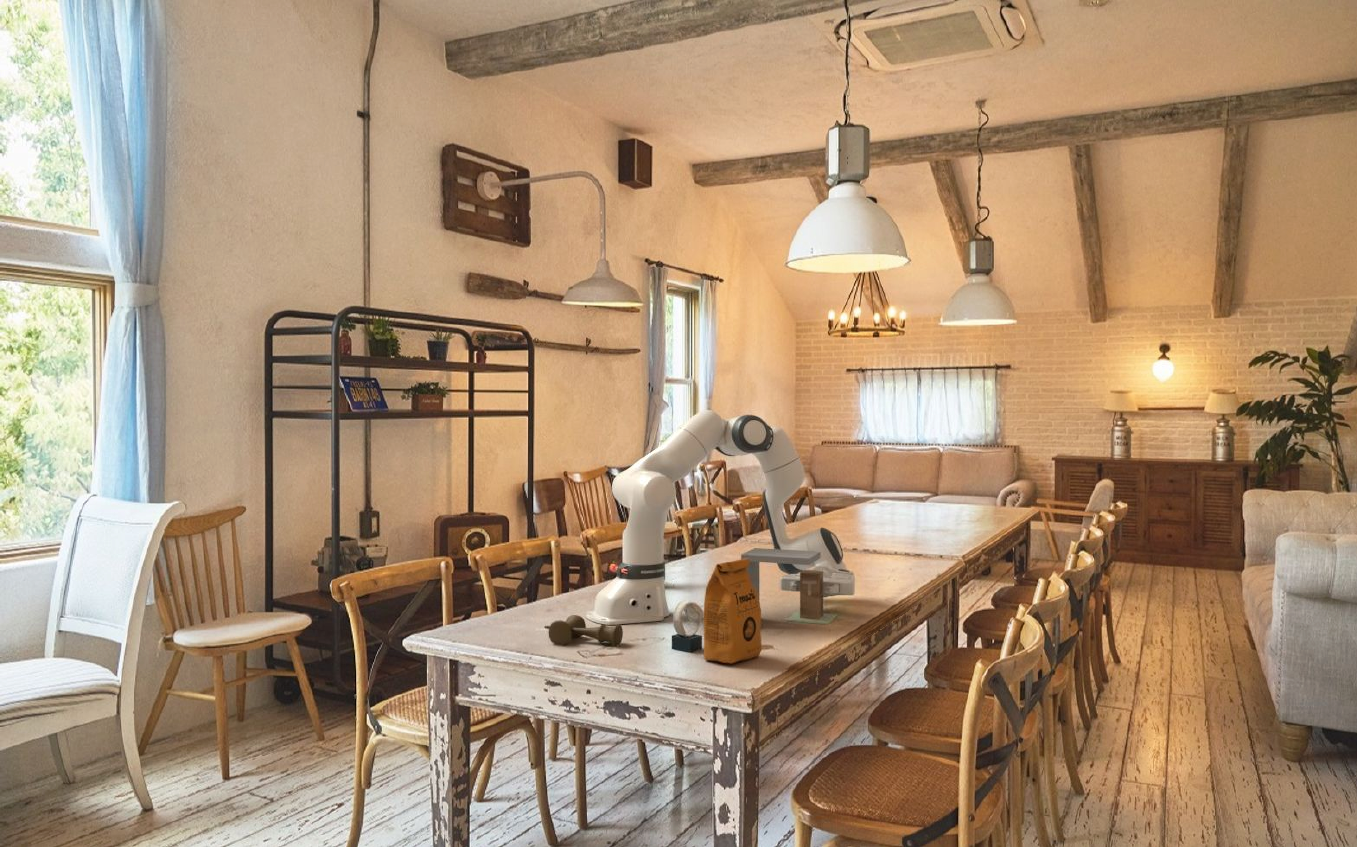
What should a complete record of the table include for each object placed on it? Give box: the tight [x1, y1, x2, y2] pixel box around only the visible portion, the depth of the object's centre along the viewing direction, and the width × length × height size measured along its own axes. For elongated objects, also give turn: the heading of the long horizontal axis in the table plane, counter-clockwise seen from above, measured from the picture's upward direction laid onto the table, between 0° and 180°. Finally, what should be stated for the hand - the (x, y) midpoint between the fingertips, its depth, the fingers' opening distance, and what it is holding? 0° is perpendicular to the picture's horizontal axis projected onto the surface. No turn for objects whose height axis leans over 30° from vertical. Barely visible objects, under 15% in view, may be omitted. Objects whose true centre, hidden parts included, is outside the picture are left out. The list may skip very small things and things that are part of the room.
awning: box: [740, 547, 820, 599], centre depth 242 cm, size 12×18×19 cm
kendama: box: [544, 614, 624, 647], centre depth 226 cm, size 6×10×20 cm
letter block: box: [799, 569, 824, 620], centre depth 250 cm, size 5×5×12 cm
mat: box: [785, 610, 838, 625], centre depth 250 cm, size 11×11×1 cm
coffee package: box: [703, 558, 762, 664], centre depth 210 cm, size 10×12×22 cm
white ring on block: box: [671, 600, 704, 654], centre depth 219 cm, size 6×8×11 cm
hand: (811, 589), depth 249 cm, fingers open, 8 cm apart
